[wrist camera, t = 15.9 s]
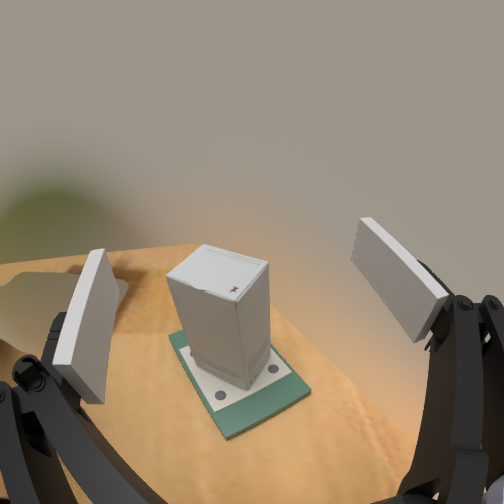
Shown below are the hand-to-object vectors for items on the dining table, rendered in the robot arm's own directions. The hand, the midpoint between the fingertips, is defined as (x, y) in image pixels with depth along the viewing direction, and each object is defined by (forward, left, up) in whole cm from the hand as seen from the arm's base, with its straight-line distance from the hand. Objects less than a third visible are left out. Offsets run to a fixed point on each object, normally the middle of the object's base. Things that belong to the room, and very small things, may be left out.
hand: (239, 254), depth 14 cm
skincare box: (+8, +5, -24) cm, 26 cm away
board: (+9, +5, -25) cm, 27 cm away
